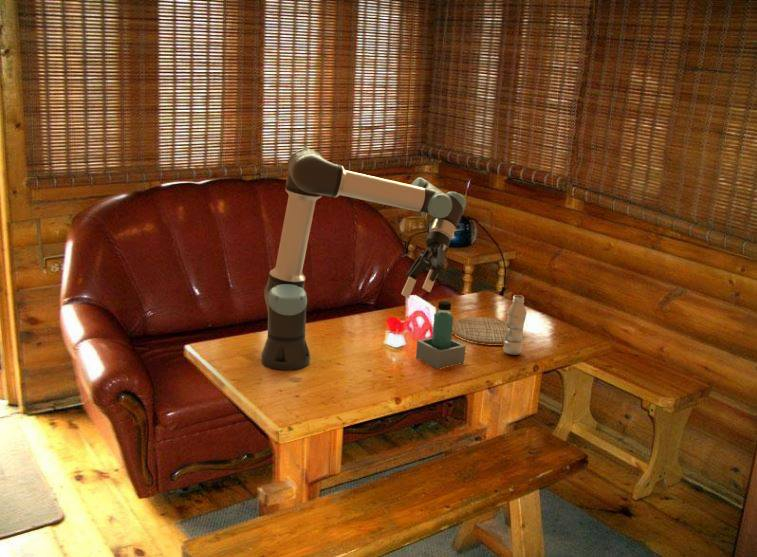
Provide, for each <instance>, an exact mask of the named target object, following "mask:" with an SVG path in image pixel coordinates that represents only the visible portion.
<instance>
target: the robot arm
mask: <svg viewBox="0 0 757 557" xmlns="http://www.w3.org/2000/svg"><path fill="white" fill-rule="evenodd" d="M286 170H287V176H286V182H285V188H284V189H285V192H286V193H287V194H288V198H287V204H286V208H285V213H284V220H283V224H282V230H281V236H280V241H279V248H278V253H277V258H276V263H275V267H274V268H273V269H271V270H270V271H269V275H268V280H267V282H266V285H265V287H264V292H263V296H264V297H263V299H264V301H265V304H266V305H265V306H266V309H267V338H266V341H265V343H264V347H263V349H262V352H261V362H260V363H262V365H264V366H265V367H267V368H269V367H270V368H269V369H272V368H273V369H274V370H277V369H278V370H279V371H294V370H295V371H296V370H300V369H303V368H305V367H308V366H309V364H310V362H311V353H310V350H309V347H308V342H307V340H306V327H307V326H306V323H307V305H308V297H307V292H306V290H305V283H306V276H305V275H304V273H303V268H304V264H305V259H306V253H307V249H308V243H309V239H310V238H309V237H310V232H311V228H312V222H313V218H314V217H313V216H314V213H315V212H314V211H315V208H316V207H315V206H316V202H317V201H318V200H319V199H321V198H323V197H322V196H326V197H331V198H338V197H339V196H343V197H346V198H347V197H349V198H352V199H358V200H363V201H367V202H370V203H371V202H372V203H377V204H381V205H384V206H385V205H386V206H389V207H390V206H391V207H394V208H400V209H404V210H409V211H413V212H418V213H423V214H427V215H430V216H432V217H433V218H434V220H433V222H432V224H431V227H430V229H429V232H428V234H427V236H426V238H425V246H426V247H427V248H426V249H425V250H424V251H423V250H421V251H420V253H419V255H418V257H417V258H416V259H415V261H414V263H413V264H412V266H411V267H410V268H409V270H408V271H407V273H406V275H405V276H406V278H407V279H406V283H405V284H404V286H403V289H402V291H401V292H400V294H401V296H404V297H405V298H406V299H409V298H410V297H411V294H412V292H413V290H414V287H415V285H416V282H418V281H417V278H418V277H419V276H420V275H421V273H422V272H423V271H424V270H425V268H426V267H428V266H430V264H431V266H430V269H429V272H428V273H427V276H426V278H425V280H424V282H423V285H422V287H421V288H422V289H423V290H425V292H428V293H431V291H432V288H433V286H434V283H435V281H436V279H437V277H438V275H439V274H440V273H441V271H444V270H445V266H446V259H447V252H448V251H449V250H448V249H449V246H450V244H451V240H453V239H452V238H453V237H455V234H454V233H455V232H456V231H457V230H456V229H457V227H458V224H459V223H460V220H461V218H462V215H463V214H464V211H465V208H466V205H467V200H466V199H467V198H465V196H464V195H462V194H461V193H458V192H456V191H448V192H446V193H445V192H443V191H442V190H441V189H439V187H436V186H435V185H434V184H432V183H430V182H429V181H428V180H426V179H424V178H423V177H417V178H416V179H415V180H413V182H412V183H410V184H408V183H406V182H405V183H403V182H399V181H395V180H390V179H385V178H381V177H377V176H373V175H369V174H368V175H367V174H364V173H359V172H355V171H351V170H346V169H345V168H344V166H343V165H340V164H336V163H333V162H330V161H329V160H326V159H325V157H324V156H323V155H322V154H321V153H320V152H319V151H317V150H314V149H311V148H301V149H298V150H296V151H295V152H294V153H292V155H290V157H289V159H288V161H287V169H286Z"/></svg>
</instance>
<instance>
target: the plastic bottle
mask: <svg viewBox="0 0 757 557" xmlns="http://www.w3.org/2000/svg"><path fill="white" fill-rule="evenodd" d="M511 302H512V303H511V304H510V306H509V307H508V309H507V311H506V313H507V314H506V316H507V318H506V322H507V332H506V337H505V340H504V344H503V345H502V350H503V351H504V353H505V354H506V355H510V356H512V355H513V356H517V355H520V354H521V353H522V350H523V348H524V347H523V332H524V331H523V330H524V325H525V321H526V319H527V309H526V307H525V305H524V302H525V297H524V296H523V295H519V294H517V295H515V294H514V295H513V296H512V301H511Z"/></svg>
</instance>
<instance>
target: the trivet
mask: <svg viewBox="0 0 757 557" xmlns="http://www.w3.org/2000/svg"><path fill="white" fill-rule="evenodd" d="M452 332H453V333H454V334H456V335H457V336H459V337H461V338H463V339H466V340H469V341H473V342H477V343H485V344H504V340H505V337H506V332H507V321H505V320H501V319H497V318H491V317H483V316H482V317H481V316H479V317H478V316H472V317H471V316H470V317H469V316H468V317H462V318H458V319H456V320H453V326H452Z"/></svg>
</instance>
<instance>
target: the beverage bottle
mask: <svg viewBox="0 0 757 557" xmlns="http://www.w3.org/2000/svg"><path fill="white" fill-rule="evenodd" d="M437 308H438V310H437V311H436V312H434V315H433V325H432V337H431V338H432V344H431V346H432V347H434V348H436V349H438V350H444V349H448V348H451V344H452V343H451V340H453V339H452V338H453V334H452V326H453V322H454V317H455V316H454V314H453V313H452V312H451V311H450V310H452V303H451V301H448V300H440V301H438V305H437Z"/></svg>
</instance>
